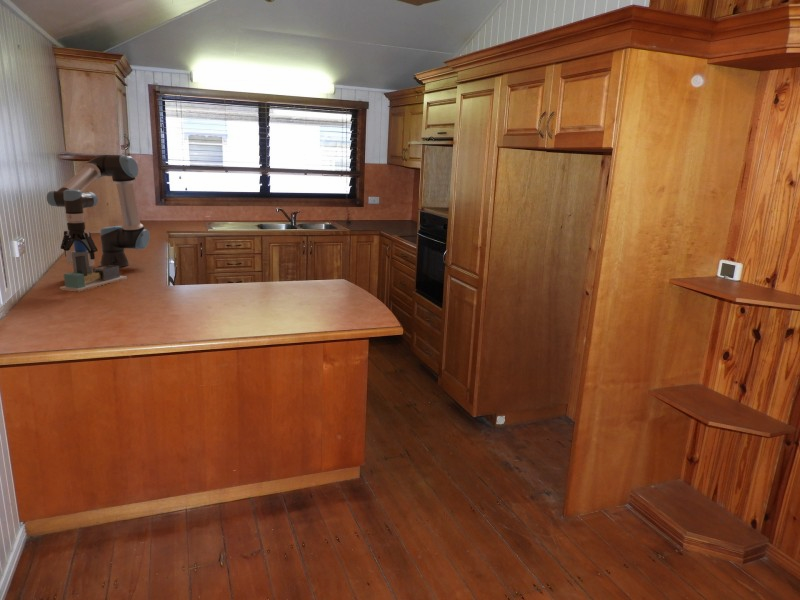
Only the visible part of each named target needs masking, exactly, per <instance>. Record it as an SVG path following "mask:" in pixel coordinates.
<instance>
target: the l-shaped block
mask: <svg viewBox="0 0 800 600" xmlns="http://www.w3.org/2000/svg"><path fill="white" fill-rule="evenodd" d="M75 259H76V267H77V273H80V274H84V281H85V282H88V281H91V280H95V279H99V278H102V271H97V272H94V271H93V273H89V274H87V269H86V260H85V256H75Z"/></svg>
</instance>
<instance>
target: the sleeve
mask: <svg viewBox="0 0 800 600" xmlns="http://www.w3.org/2000/svg"><path fill="white" fill-rule="evenodd" d="M97 271H102V278H99V279H95V280H100V281H106V280H110V279H113V278H117V277H120V276H121V274H120V273H121V272H120V267H119V266H116V265H107V266H103V267H101V266H99V267H95V268H93V272H97Z"/></svg>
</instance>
